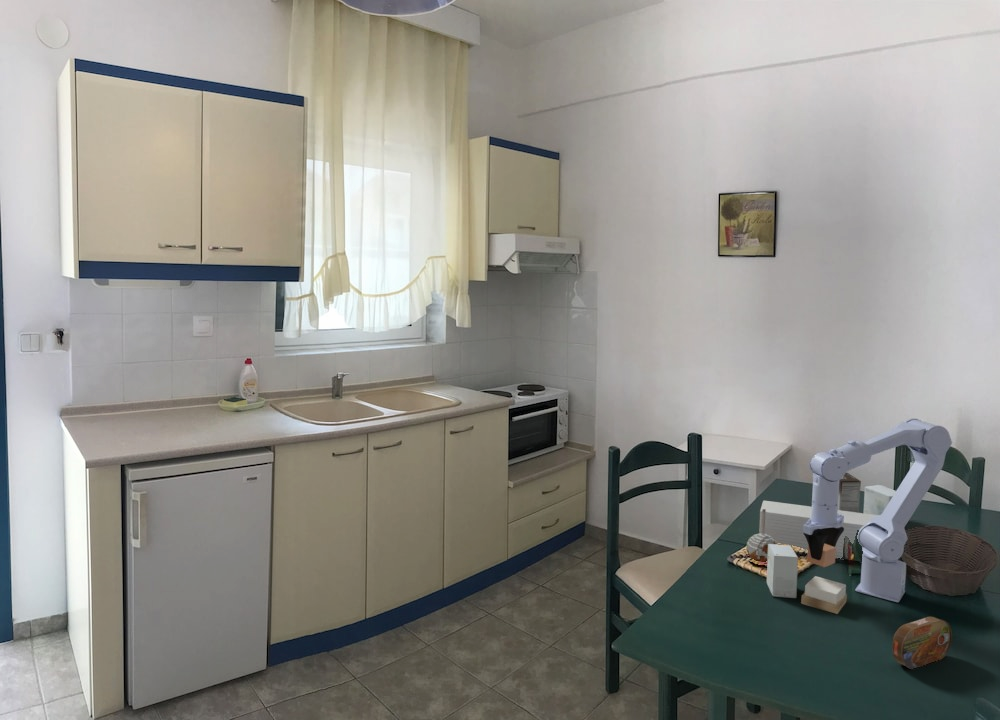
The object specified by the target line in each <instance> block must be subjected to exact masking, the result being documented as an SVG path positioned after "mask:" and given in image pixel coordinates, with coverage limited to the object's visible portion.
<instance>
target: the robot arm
mask: <svg viewBox="0 0 1000 720" xmlns="http://www.w3.org/2000/svg"><path fill="white" fill-rule="evenodd" d="M952 444H953V442H952V438H951V435H950V433H949V431H948V429H947V428H945V427H944V426H942V425H936V424H933V423H929V422H926V421H922V420H921V419H919V418H909V419H906V421H900V422H899V423H898V424H897V425H896V426H894V427H892V428H891V429H889V430H887V431H885V432H882V433H881V434H878V435H877V436H875V437H873V438H870V439H868V440H867V441H861V440H853V439H850V440H848V441H847V444H844V445H842V446H840V447H837V448H831V449H829V451H828V452H825V451H821V452H818V453H816V454H814V456H812V458H811V461H810V462H808V467H809V470H810V471H811V473H812V493H811V496H812V498H811V507H812V510H811V518H810V519H809V520H808V521H807V523H806V524H804V525H803V534H804V535H805V537H806V539H807V542H808V545H809V549H810V554H811V558H814V559H816V560H821V557H822V552H823V547H824V544H827V545H830V546H833V547H835V546H836V543H837V541H838V539H839V537H840V535H841V534H842V532H843V531H844V528H843V527H841V524H842V523H844V515H840V514H837V513H838V495H839V480H840V479H841V478H842V477H843V476H844V475H845V473H848V472H849V471H851V470H853V469H855V468H857V467H861V466H863V465H866V464H868V463H869V462H870V461H871V459H872V457H873V456H874V455H876V454H880V453H882V452H883V453H884V452H885V451H888V450H891V449H894V448H897V447H900V446H907V447H908V449H909V450H910V452H911V454H912V456H913V459H914V463H913V464H912V465H911V467H910V468H909V470H908V472H907V474H906V475H905V477H904V478H903V480H902V481H901V483H900V485H899V486H898V487H897V489H896V490H895V491H896V492H895V494H894V495H893V497H892V499H891V500H890V502H889V503H888V505H887V507H886V508H885V510H884V511H883V513H882V514H881V515H879V516H876V517H873V518H871V519H870V521H869V522H868V523H867V524H866V525H864V526H863V527H862V528H861V529H860V530H859V532H858V535H857V539H858V542H859V544H860V545H861V546H862V551H863V554H862V562H861V568H860V569H861V571H860V572H861V573H860V583H858V585H857V586H856V588H855V591H856V592H858V593H861V594H865V595H868V596H871V597H872V596H873V597H876V598H880V599H882V600H883V599H884V600H887V601H891V602H895V603H899V602H900V601H901V599H902V598H903V596H904V594H905V592H906V577H907V563H906V562H905V561H901V560H899V559H900V558H901V557H902V556H903V554H904V550H905V549H904V548H905V544H906V542H907V541H908V539H909V537H908V535H907V533H906V529H905V527H906V525H907V524H908V522H909V521H910V519H911V518H912V516H913V515H914V513H915V511H916V510H917V508H918V507H919V505H920V503H921V502H922V500H923V499H924V497H925V495H926V494H927V492H928V491H929V489H930V488H931V486H932V485H933V483H934V481H935V480H936V478H937V476H939V474H940V473H941V471H942V470H943V467H944V464H945V459H946V454H947V452H948V450H949V449H950V448H951V446H952ZM840 523H841V524H840ZM885 531H887V532H885Z"/></svg>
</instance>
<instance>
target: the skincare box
mask: <svg viewBox="0 0 1000 720" xmlns="http://www.w3.org/2000/svg"><path fill="white" fill-rule="evenodd" d="M896 491H897V490H896V489H895V490H894V489H892V488H889V487H887V486H884V485H881V484H876V485H875V484H874V485H868V486H864V493H863V495H864V497H863V513H864V514H872V515H881V514H882V513H883V511H884V510H885V508H886V507H887V505H888V503H889V502H890V500H891V499H892V497H893V495H894V494H895V492H896Z"/></svg>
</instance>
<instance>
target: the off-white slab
mask: <svg viewBox="0 0 1000 720" xmlns="http://www.w3.org/2000/svg"><path fill="white" fill-rule="evenodd" d="M846 589H847V585H846V584H845V583H842V582H838V581H836V580H835V581H834V580H830V579H827V578H823V577H820V576H816V575H815V576H813V578H812V579H810V580H809V581H808V582H807V583H806V584H805V586H804V592H805V595H806V596H809V597H812V598H816V599H819V600H822V601H826V602H829V603H832V604H835V605H836V604H837V603H838V602H839V601H840V600H841V599H842V598H843V597H844V596H845V594H847V591H846Z"/></svg>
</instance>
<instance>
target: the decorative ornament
mask: <svg viewBox="0 0 1000 720" xmlns="http://www.w3.org/2000/svg"><path fill="white" fill-rule="evenodd" d="M765 512H766V509H763V510H762V531H761V533H760V534H759V533H756V534H753V535H751V536H750V537H749V538H748V540H747V542H746V552H747V554H748V556H750V558H752V559H754V560H756V561H762V562H766V561H767V560H768V544H776V541H775V540H774V539H773V538H772V537H771V536H769V535H766V534H764V532H765Z"/></svg>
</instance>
